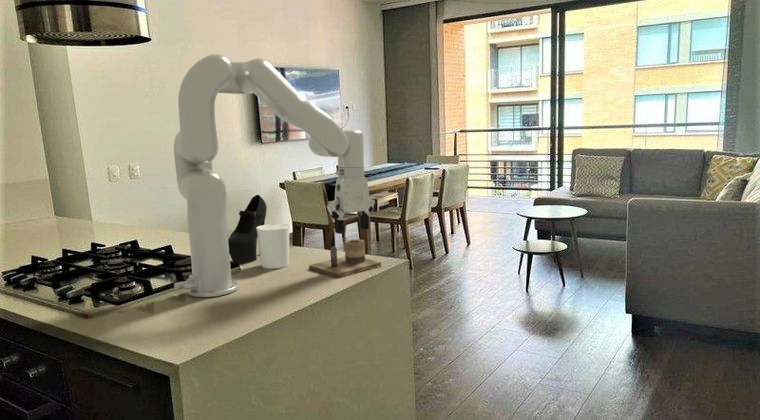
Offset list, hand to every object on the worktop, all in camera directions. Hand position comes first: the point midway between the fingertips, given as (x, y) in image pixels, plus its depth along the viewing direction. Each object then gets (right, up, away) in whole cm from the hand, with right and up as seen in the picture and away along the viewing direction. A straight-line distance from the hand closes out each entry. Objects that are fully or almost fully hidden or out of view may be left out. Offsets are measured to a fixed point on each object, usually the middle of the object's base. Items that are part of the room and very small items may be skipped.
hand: (352, 231), depth 162 cm
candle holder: (-24, -11, +5) cm, 27 cm away
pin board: (-2, -11, -1) cm, 11 cm away
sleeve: (+1, -9, +2) cm, 9 cm away
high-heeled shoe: (-33, -10, +14) cm, 37 cm away
